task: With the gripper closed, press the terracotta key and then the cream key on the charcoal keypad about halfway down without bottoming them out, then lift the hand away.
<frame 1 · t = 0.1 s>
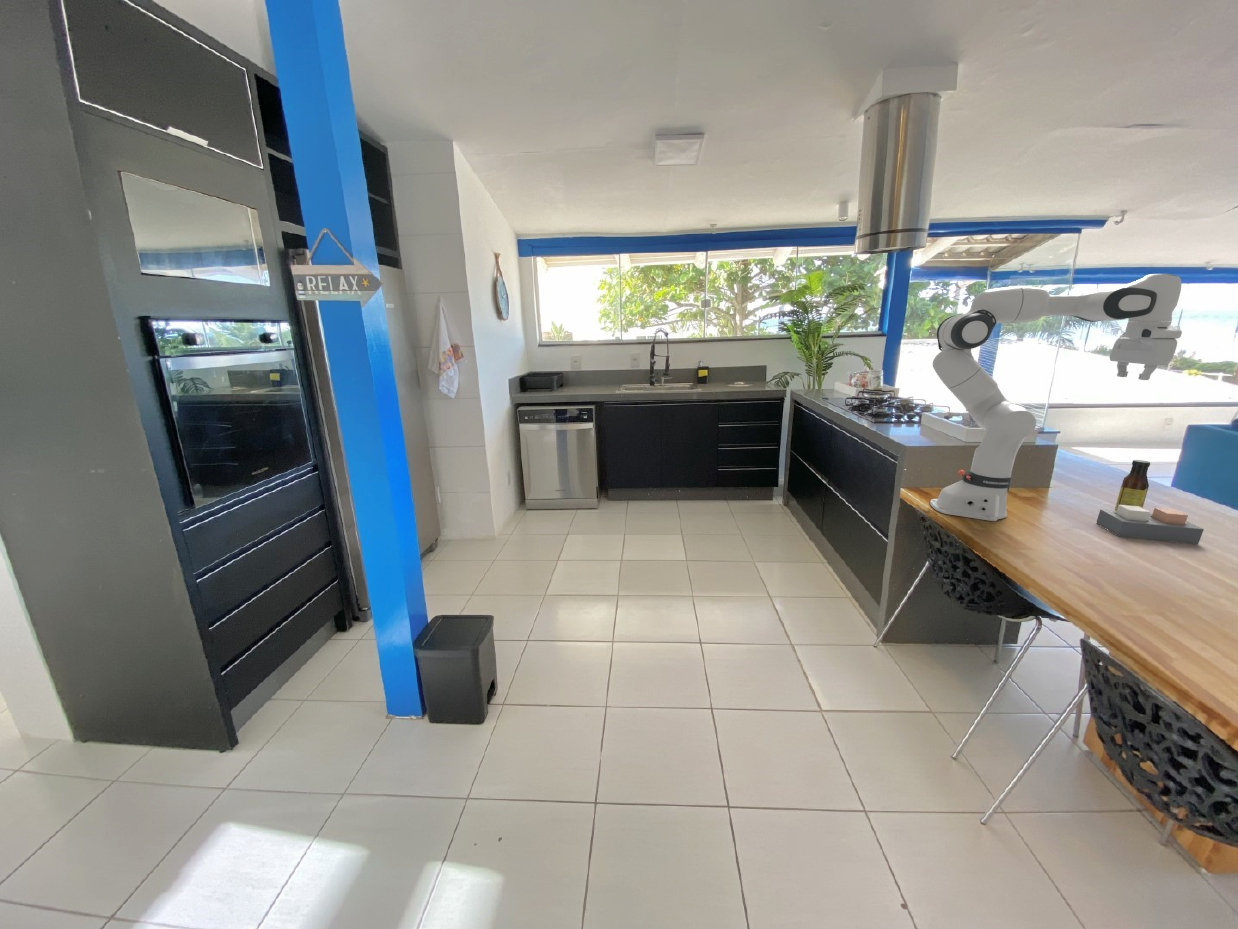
hand: (1132, 378, 144), 48 cm above the breakfast bar, tool pointing down, fingers open, 8 cm apart
terracotta key: (1168, 517, 145), point 6 cm above the breakfast bar, slide at 0.0 cm
cream key: (1132, 514, 148), point 6 cm above the breakfast bar, slide at 0.0 cm
keypad: (1144, 533, 148), on the breakfast bar
sauce bottle: (1125, 516, 162), on the breakfast bar
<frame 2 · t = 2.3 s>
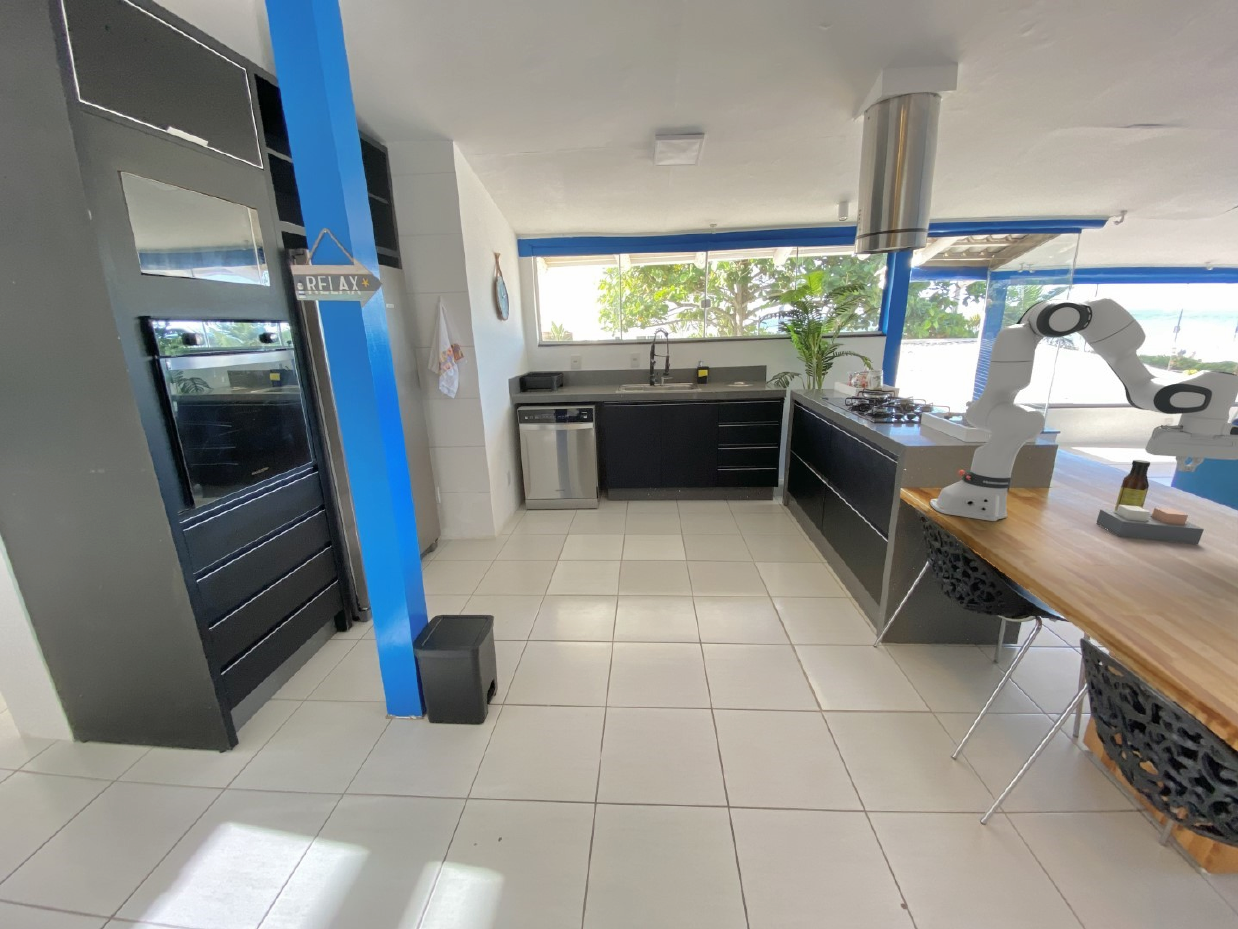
hand: (1185, 471, 141), 21 cm above the breakfast bar, tool pointing down, fingers closed
nothing on the breakfast bar moved.
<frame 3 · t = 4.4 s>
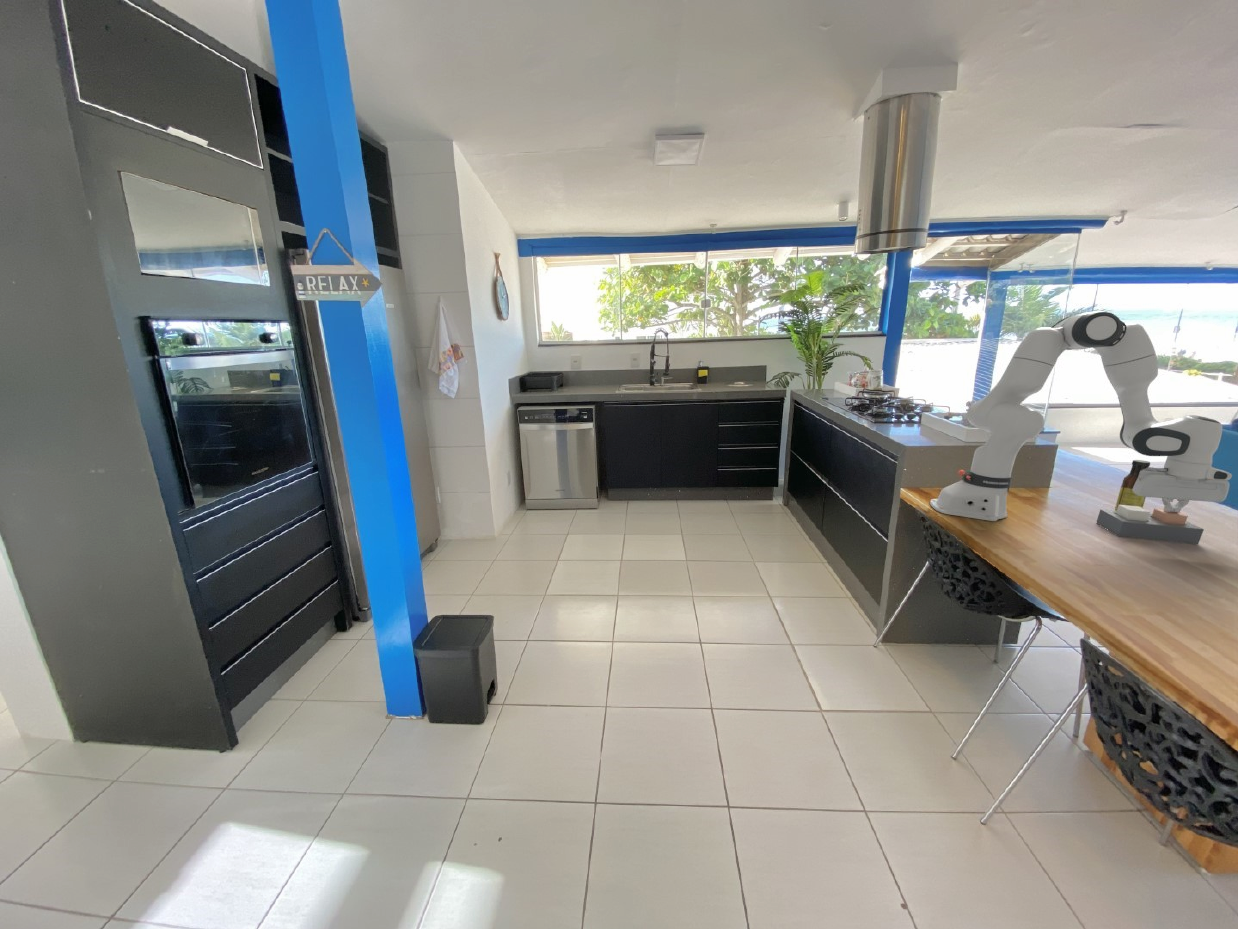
hand: (1171, 512, 145), 8 cm above the breakfast bar, tool pointing down, fingers closed, pressing on terracotta key
terracotta key: (1168, 518, 145), point 6 cm above the breakfast bar, slide at 0.3 cm, touching gripper
everything else where it was.
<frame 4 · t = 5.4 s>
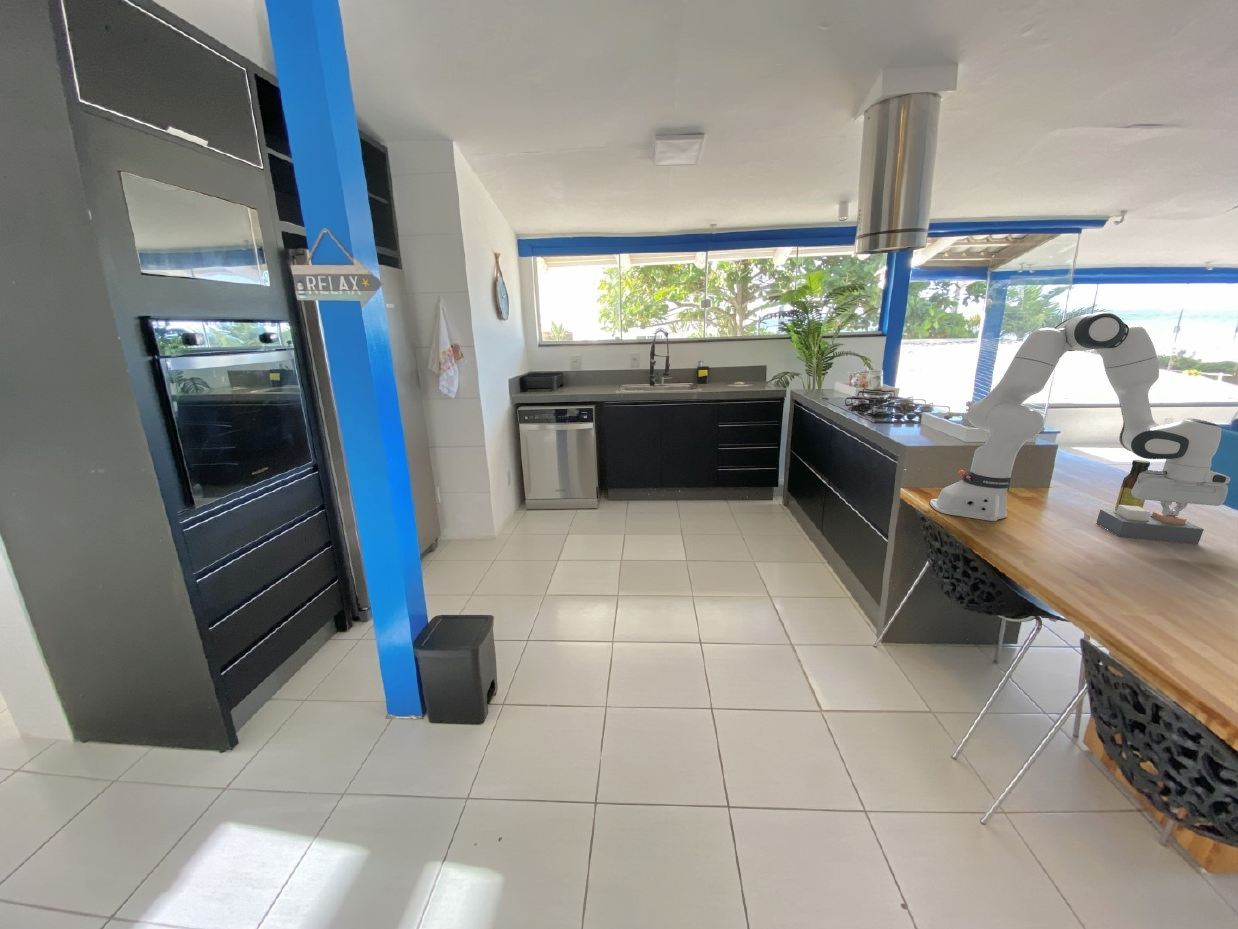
hand: (1169, 515, 145), 7 cm above the breakfast bar, tool pointing down, fingers closed
terracotta key: (1167, 521, 145), point 5 cm above the breakfast bar, slide at 1.4 cm
everything else where it was.
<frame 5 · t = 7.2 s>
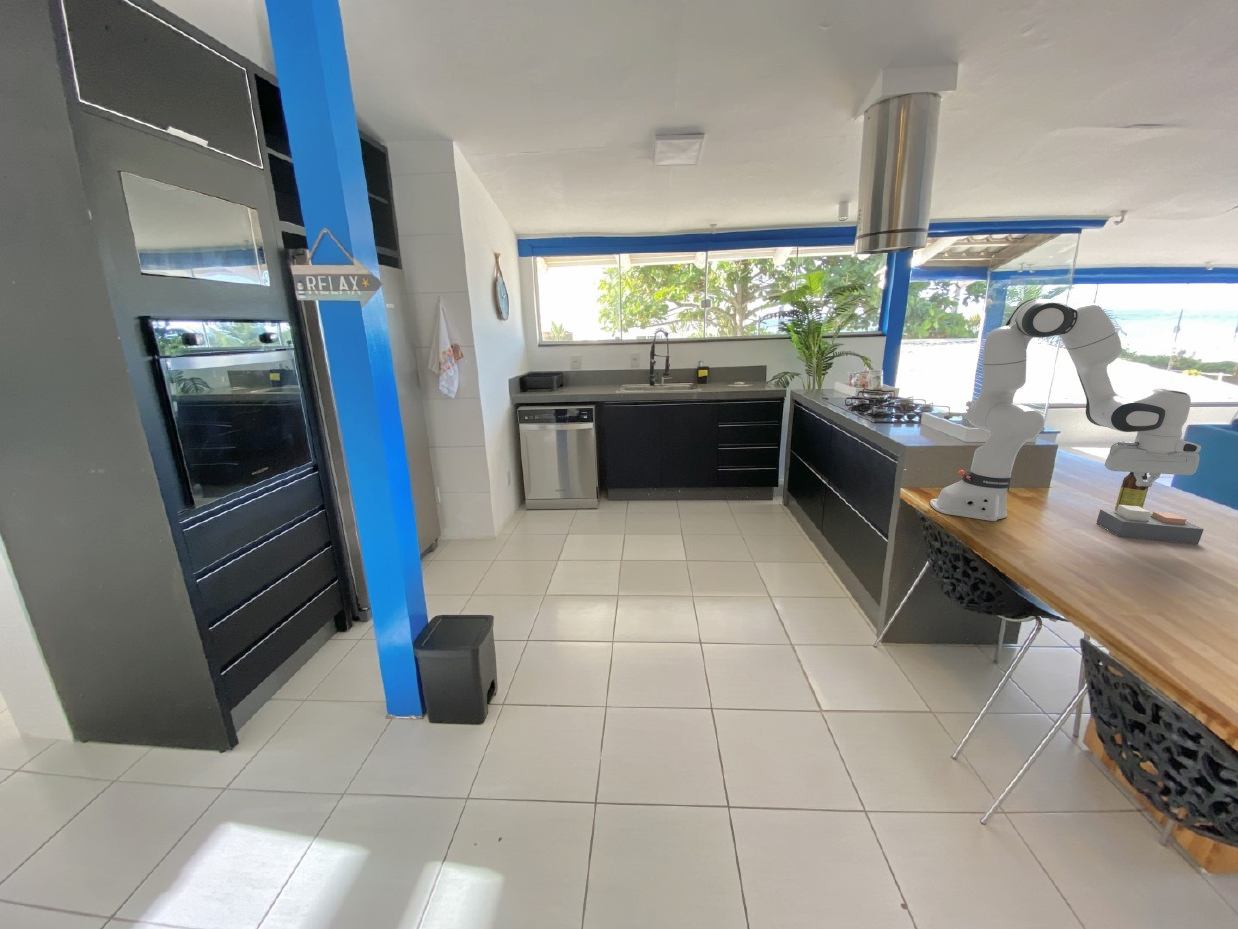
hand: (1143, 486, 145), 15 cm above the breakfast bar, tool pointing down, fingers closed
nothing on the breakfast bar moved.
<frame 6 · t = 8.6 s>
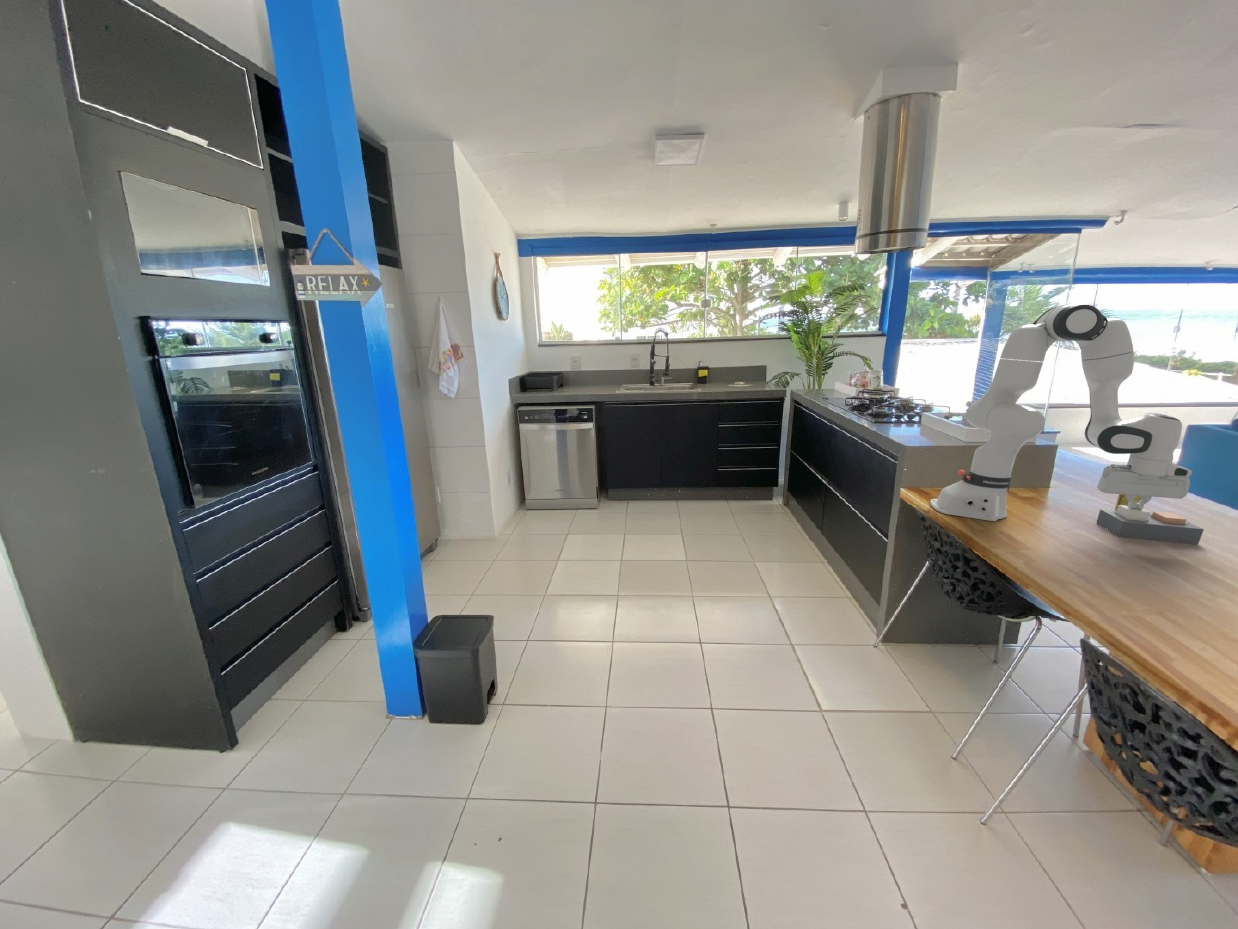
hand: (1134, 508, 147), 8 cm above the breakfast bar, tool pointing down, fingers closed, pressing on cream key
cream key: (1132, 514, 148), point 6 cm above the breakfast bar, slide at 0.1 cm, touching gripper
everything else where it was.
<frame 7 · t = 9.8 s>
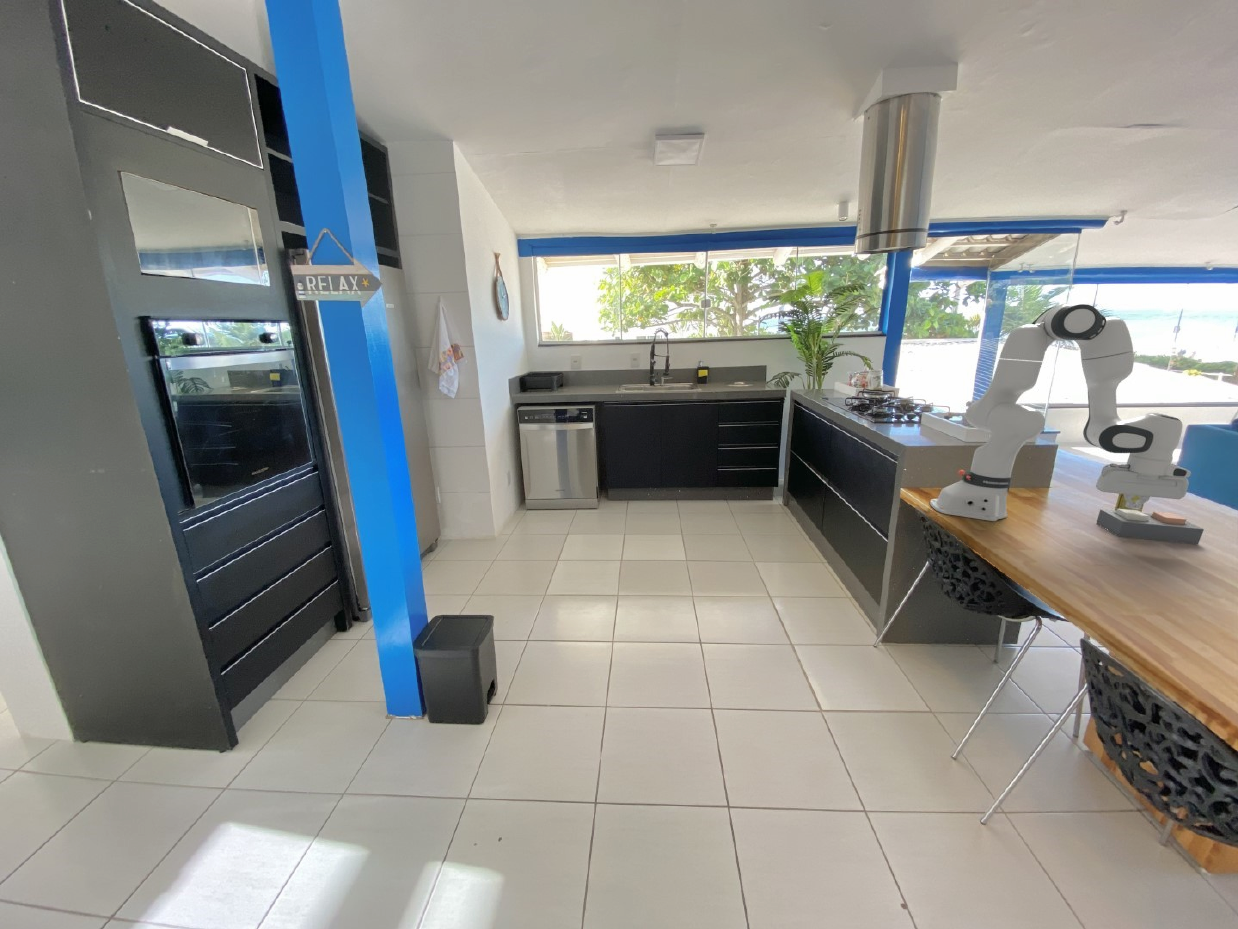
hand: (1132, 508, 147), 8 cm above the breakfast bar, tool pointing down, fingers closed
cream key: (1130, 518, 148), point 5 cm above the breakfast bar, slide at 1.4 cm
everything else where it was.
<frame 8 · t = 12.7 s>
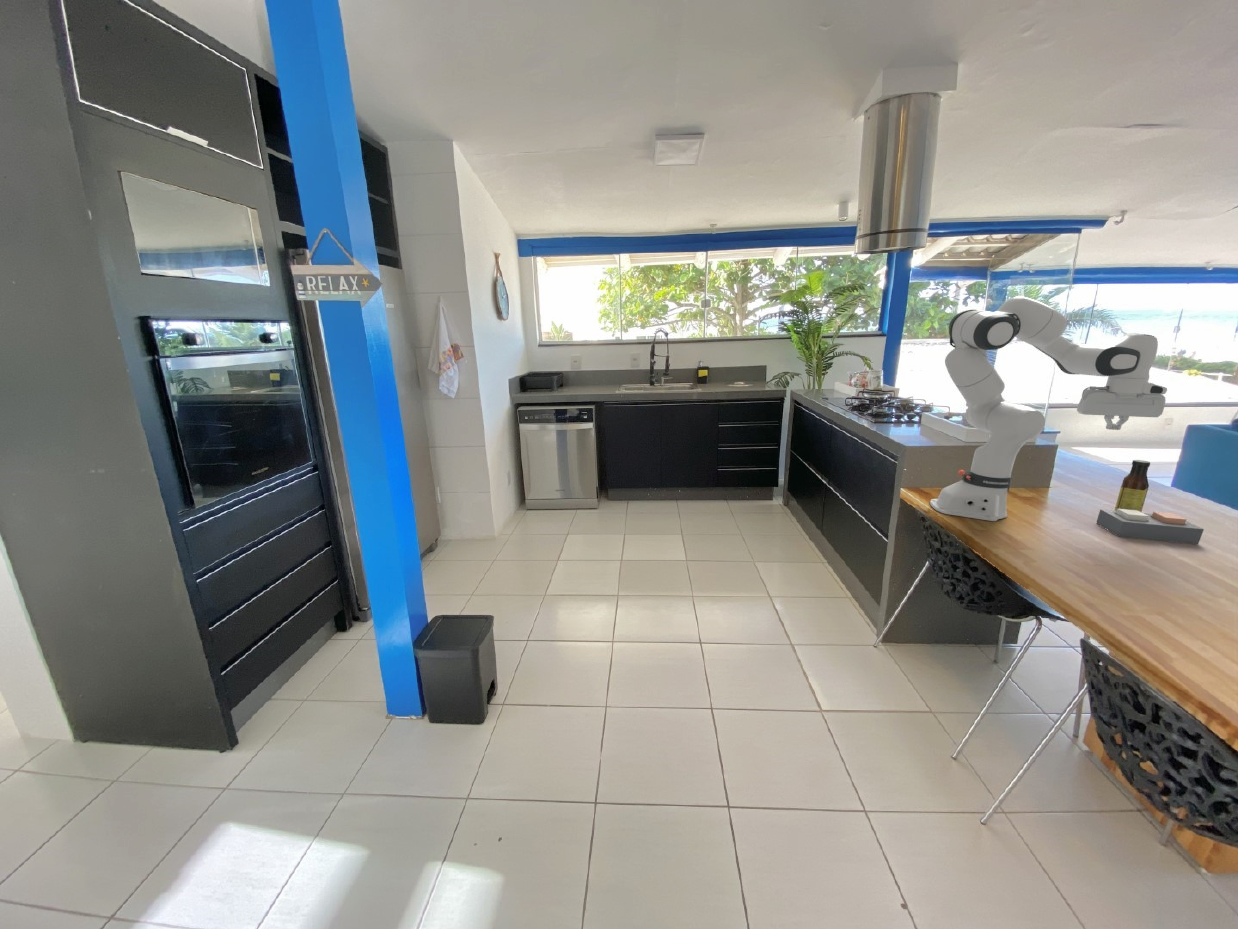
hand: (1112, 429, 151), 31 cm above the breakfast bar, tool pointing down, fingers closed
nothing on the breakfast bar moved.
at the end: terracotta key slide at 1.4 cm; cream key slide at 1.4 cm; sauce bottle moved 0.2 cm from its start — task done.
